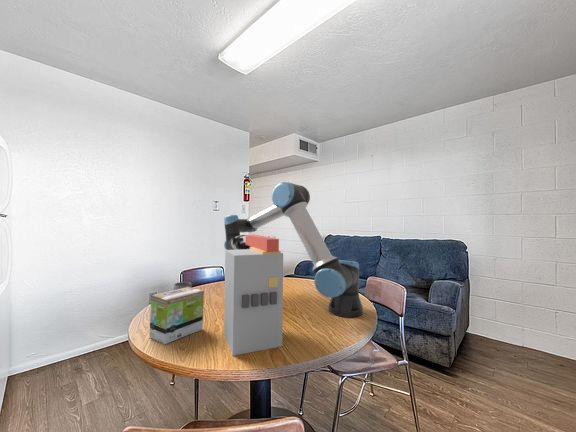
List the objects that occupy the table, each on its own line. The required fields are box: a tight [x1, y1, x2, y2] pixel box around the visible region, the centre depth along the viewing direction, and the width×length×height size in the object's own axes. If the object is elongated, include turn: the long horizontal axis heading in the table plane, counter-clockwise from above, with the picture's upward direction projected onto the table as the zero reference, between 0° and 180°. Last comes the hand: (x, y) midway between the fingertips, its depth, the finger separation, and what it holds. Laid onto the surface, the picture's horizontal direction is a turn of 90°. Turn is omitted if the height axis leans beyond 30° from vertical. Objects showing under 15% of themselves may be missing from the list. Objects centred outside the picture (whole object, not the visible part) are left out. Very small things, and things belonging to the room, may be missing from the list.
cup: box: [173, 281, 193, 290], centre depth 123 cm, size 10×9×10 cm
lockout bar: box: [245, 234, 280, 252], centre depth 94 cm, size 28×4×4 cm, turn 23°
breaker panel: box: [223, 248, 284, 357], centre depth 87 cm, size 17×16×30 cm
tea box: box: [148, 287, 205, 345], centre depth 92 cm, size 15×10×15 cm, turn 148°
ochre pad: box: [249, 246, 282, 254], centre depth 90 cm, size 16×6×1 cm, turn 23°
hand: (261, 238), depth 112 cm, fingers open, 13 cm apart
